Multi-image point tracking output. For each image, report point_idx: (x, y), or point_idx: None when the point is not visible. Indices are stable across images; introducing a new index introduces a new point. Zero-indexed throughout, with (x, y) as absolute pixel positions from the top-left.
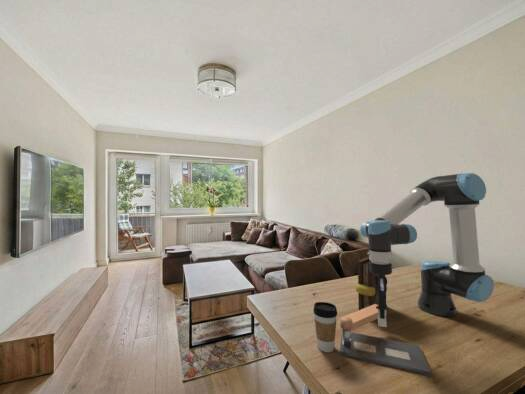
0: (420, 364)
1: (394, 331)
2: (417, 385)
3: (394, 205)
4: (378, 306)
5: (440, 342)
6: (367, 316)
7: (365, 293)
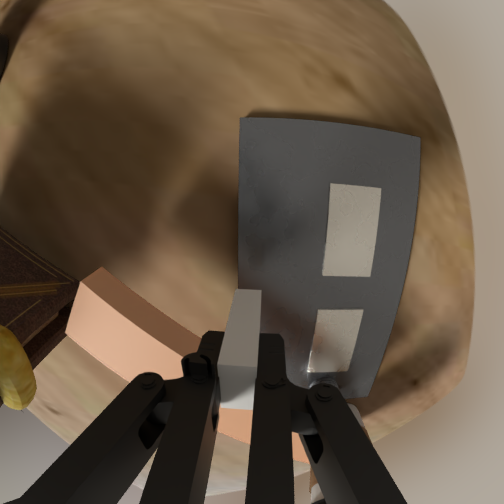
0: (392, 156)
1: (128, 206)
2: (458, 198)
3: None
4: (313, 437)
5: (155, 41)
6: None
7: (30, 376)
